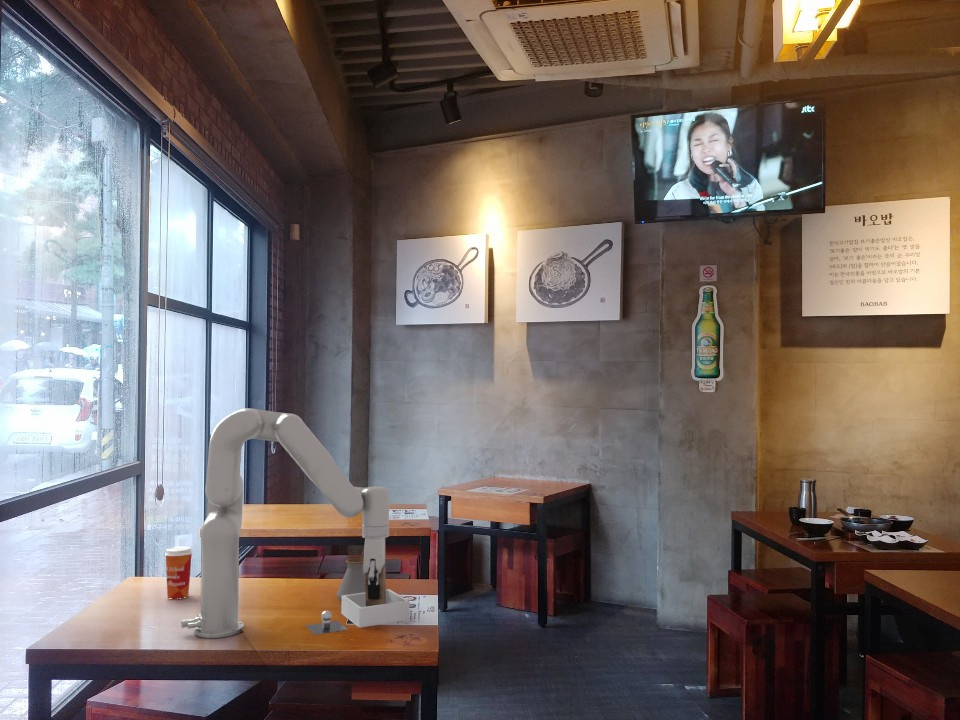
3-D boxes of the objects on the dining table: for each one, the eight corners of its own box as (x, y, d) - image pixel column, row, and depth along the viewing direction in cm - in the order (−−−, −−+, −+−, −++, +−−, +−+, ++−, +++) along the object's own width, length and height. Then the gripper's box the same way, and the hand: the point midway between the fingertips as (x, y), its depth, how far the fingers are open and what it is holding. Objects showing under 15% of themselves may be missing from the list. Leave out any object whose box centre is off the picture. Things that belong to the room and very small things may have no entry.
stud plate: (314, 638, 193) (315, 617, 193) (304, 629, 201) (305, 608, 201) (348, 633, 197) (348, 612, 197) (337, 624, 205) (337, 604, 205)
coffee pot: (370, 608, 220) (370, 557, 220) (332, 608, 221) (332, 556, 221) (385, 590, 241) (385, 543, 242) (350, 589, 242) (350, 542, 243)
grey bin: (359, 631, 199) (359, 608, 199) (341, 616, 212) (341, 595, 212) (409, 623, 206) (409, 601, 206) (389, 609, 219) (389, 589, 219)
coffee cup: (157, 599, 229) (158, 550, 230) (175, 592, 237) (176, 545, 238) (180, 601, 227) (181, 552, 228) (198, 594, 235) (199, 546, 235)
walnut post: (365, 608, 207) (365, 568, 207) (368, 603, 212) (368, 564, 212) (383, 608, 206) (383, 568, 207) (385, 603, 212) (385, 564, 212)
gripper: (367, 525, 218) (367, 588, 218) (357, 537, 201) (356, 605, 201) (392, 525, 218) (392, 588, 218) (384, 536, 201) (384, 604, 201)
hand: (375, 595), depth 209 cm, fingers closed on walnut post, 5 cm apart
